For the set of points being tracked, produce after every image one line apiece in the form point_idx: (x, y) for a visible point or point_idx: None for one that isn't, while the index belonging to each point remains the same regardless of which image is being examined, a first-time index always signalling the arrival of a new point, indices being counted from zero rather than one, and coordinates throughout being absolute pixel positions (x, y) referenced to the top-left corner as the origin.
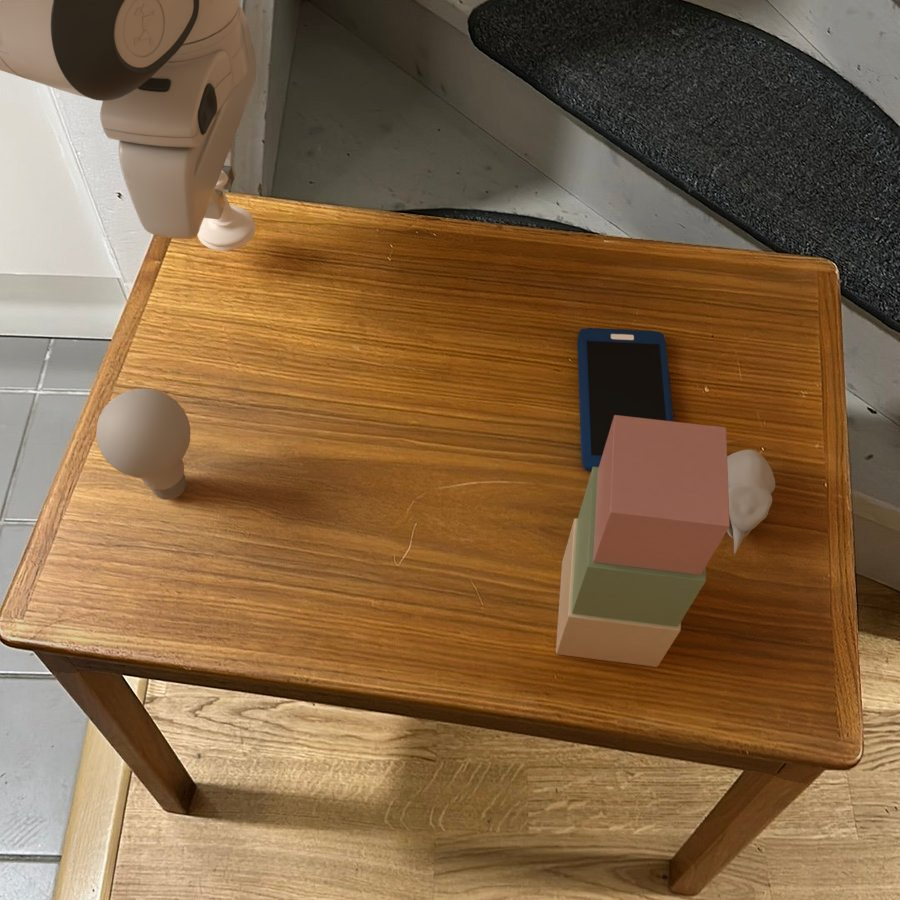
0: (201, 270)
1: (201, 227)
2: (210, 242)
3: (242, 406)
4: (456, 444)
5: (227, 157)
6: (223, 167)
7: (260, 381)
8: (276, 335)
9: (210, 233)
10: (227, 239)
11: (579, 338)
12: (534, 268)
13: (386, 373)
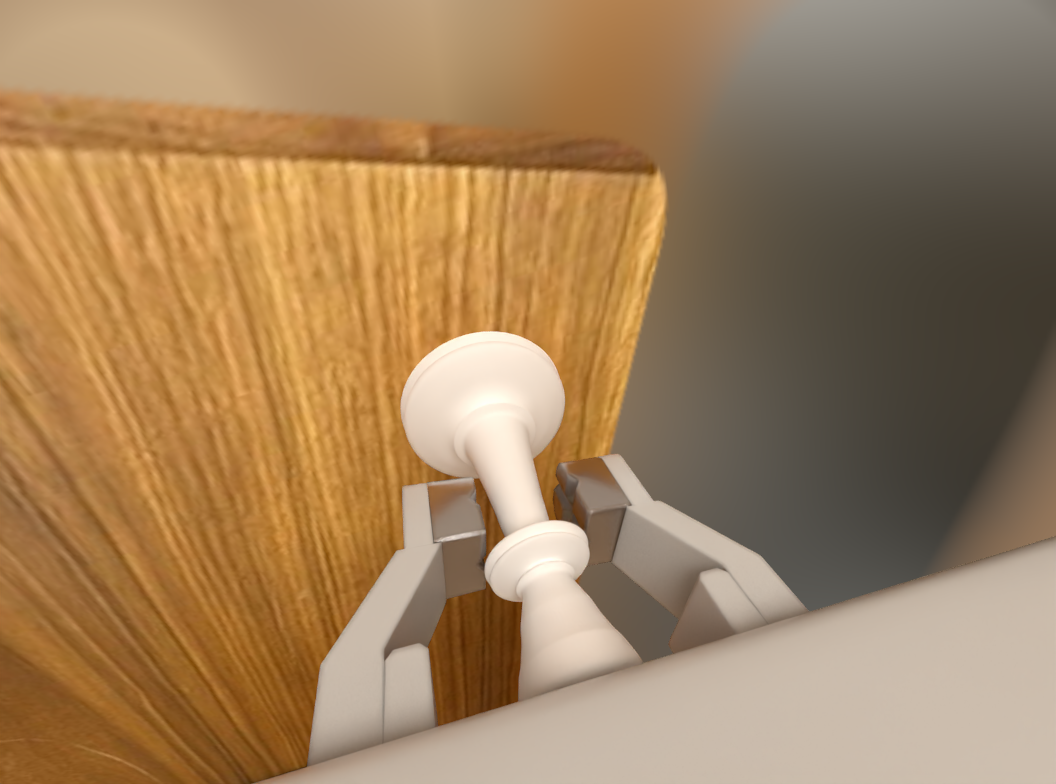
0: (419, 287)
1: (456, 373)
2: (408, 406)
3: (21, 500)
4: (175, 728)
5: (642, 574)
6: (607, 547)
7: (125, 505)
8: (275, 490)
9: (435, 406)
10: (424, 450)
11: None
12: (510, 676)
13: (266, 638)
